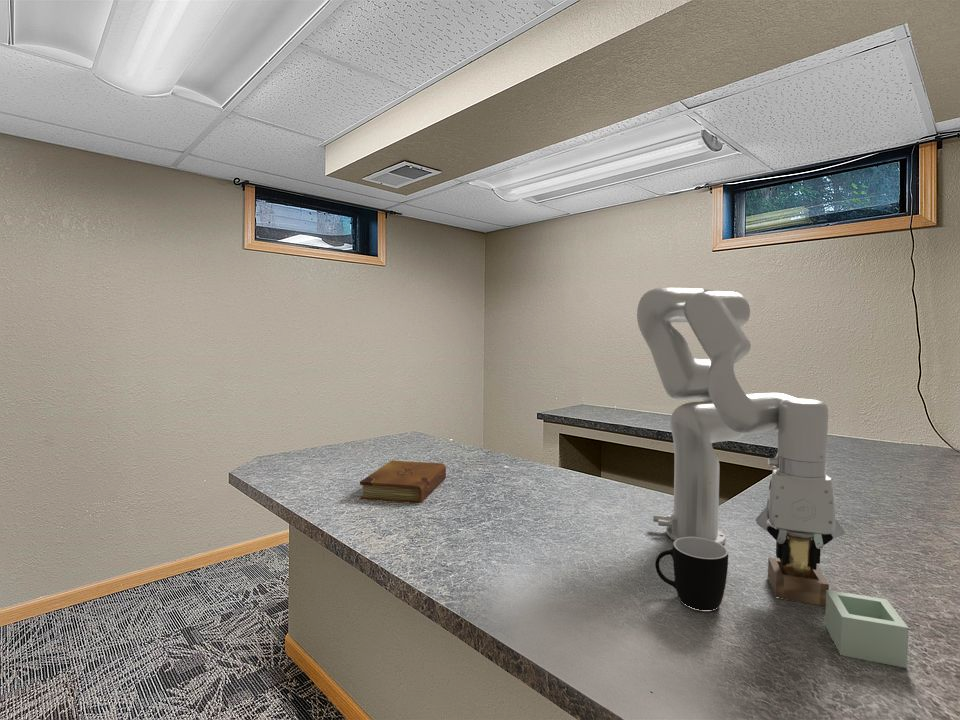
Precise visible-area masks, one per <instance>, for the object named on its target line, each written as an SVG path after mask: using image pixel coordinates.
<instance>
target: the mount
mask: <svg viewBox="0 0 960 720" xmlns="http://www.w3.org/2000/svg"><path fill="white" fill-rule="evenodd" d="M784 566H785V565H782V563H781V561H780V559H779V558H777V557H771V556H768V561H767V579H768V578H769V579H768V581H769V580H770V582H769V584H770V583H771V584H770V586H772V587H771V589H773V590H772V592H773V594H775V595H774V598H775V597H779V598H783V599H782V600H785V599H788V600H787V601H791V600H793V601H792V602H797V601H798V603H804V604H811V605H816V606H821V607H826V590H830V589H829V588H830V584H829V582H828V581H827V579H826V577H825V576H824V574H823V572H822V571H821V569H820V567H819V564H817V568H816V570H813V569H811V567H810V579H809V578H802V577H795V576H789V575H784ZM779 598H778V599H779Z"/></svg>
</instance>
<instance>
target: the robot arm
mask: <svg viewBox="0 0 960 720" xmlns="http://www.w3.org/2000/svg"><path fill="white" fill-rule="evenodd" d="M636 309H637V310H636V311H637V312H636V320H637V324H638V328H639V329H638V330H639V331H640V334H641V335H642V337H643V338H644V339H643V340H645V343H646V344H647V346H648V348H649V350H650V353H651V355H652V359H653V362H654V364H655V367H656V370H657V372H658V375H659V378H660V381H661V383H662V385H663V388H664V391H665V392H666V394H667V395H668V397H670V398H672V399H674V400H697V399H702V400H703V401H691V402H685V403H683V404H681V405H679V406H677V407H676V408H675V409H674V411H673V412H672V413H671V415H670V430H671V435H672V440H673V442H672V443H673V449H674V450H673V451H674V452H673V453H674V457H673V458H674V466H673V467H674V469H673V471H674V472H673V473H674V474H673V475H674V477H673V481H674V482H673V511H671V514H670V513H669V514H667V515H664V514H663V515H662V514H661V513H660V514H658V513H653V515H652V517H653V519H652V520H653V523H658V525H657V526H660V527H666V529H665V530H666V531H665V532H666V535H668V536H669V537H670V538H671V540H672V539H673V540H677V539H679V538H682V537H700V538H705V539H709V540H713V541H715V542H718V543H720V544H721V545H722V544H723V543H724V544H725V543H726V535H725V534H724V533H723V531H721V530H719V507H720V506H719V503H720V502H719V499H720V461H719V458H718V456H717V454H716V452H715V449H714V447H713V444H714V443H720V442H729V441H730V442H731V441H735V440H738V439H741V438H742V437H743V436H744V435H745V434H749V435H750V434H758V433H764V432H765V433H766V432H767V433H770V432H777V450H776V451H777V453H776V455H775V456H774V457H769V458H767V464H768V466H772V467H775V469H773V470H772V473H771V477H770V480H769V486H768V491H767V500H766V507H765V508H764V509H763V510H761V511H762V512H760V513H759V515H758V516H757V517H756V519H755V522H756V523H755V524H757V525H758V526H759V527H760V528H762V529H763V530H765V531H766V532H768V534H769V535H770V536H771V537H772V538H773V539H774V540H775V541H776V543H775V544H776V545H775V547H776V548H775V556H776V557H775V558H777V559H780V561H781V563H782V565H785V566H786V565H787V550H788V546H787V544H786V540H785V538H786V534H787V530H789V531H798V532H806V533H814V538H813V539H811V562H810V567H811V569H813V570H816V568H817V565H820V564H821V549H823V548H824V546H825V545H826V544H829V543H830V542H831V541H833V539H836V538H839V537H842V536H844V535H845V534H846V532H845V530H844V529H843V527H842V526H841V524H840V523H839V521H838V520H837V517H836V508H835V507H836V506H835V505H836V504H835V494H834V486H833V481H832V478H831V477H830V476H828V475H827V456H828V454H827V452H828V451H827V449H828V430H829V429H828V428H829V426H828V425H829V409H828V408H829V407H828V406H827V404H826V403H825V402H824V401H821V400H818V399H813V398H812V399H811V398H798V397H795V396H792V395H789V394H786V393H783V392H782V393H781V392H758V393H745V391H744V390H743V388H742V386H741V385H740V383H739V381H738V379H737V377H736V374H735V370H734V369H735V368H734V366H735V364H737V363H738V362H739V361H741V360H742V359H743V358H745V356H747V355H748V354H749V352H750V350H751V349H752V348H751V347H752V345H751V342H750V340H749V338H748V337H747V335H746V334H745V332H744V331H743V329H742V327H743V326H744V325H745V324H746V323H747V322H748V321H749V320H750V319H749V318H750V316H751V308H750V304H749V302H748V300H747V299H746V298H745V296H744V295H742V294H741V293H739V292H735V291H725V290H717V289H716V290H715V289H708V288H701V287H700V288H699V287H698V288H697V287H669V286H668V287H657V288H653V289H650V290H648V291H647V292H645V293H644V294H643V295H642V296H641V297H640V299H639V301H638V305H637V308H636ZM672 323H688V324H689V327H690V328H691V330H692V332H693V333H694V335H695V338H697V341H698V342H699V344H700V346H701V347H702V349H703V351H704V353H705V355H706V356H707V358H696V357H695V356H693V353H692V351H691V350H690V348H689V345H688V342H687V340H686V338H685V337H684V335H682V334H681V332H680V331H679V330H677V329H676V328H675V327H674V326H673V325H672ZM768 521H769V522H768ZM668 536H667V537H668ZM669 537H668V538H669ZM670 538H669V539H670ZM673 540H672V541H673ZM724 544H723V545H724Z"/></svg>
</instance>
